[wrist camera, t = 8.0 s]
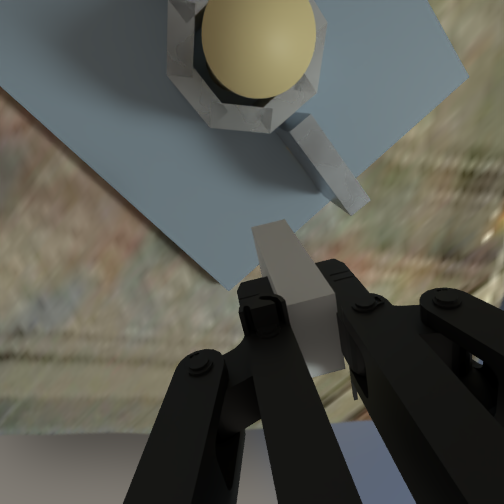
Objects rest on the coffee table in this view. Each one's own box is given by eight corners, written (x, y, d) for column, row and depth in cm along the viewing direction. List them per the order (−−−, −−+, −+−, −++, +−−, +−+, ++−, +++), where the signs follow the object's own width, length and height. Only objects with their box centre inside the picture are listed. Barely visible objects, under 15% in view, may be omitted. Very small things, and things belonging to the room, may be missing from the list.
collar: (104, -1, 20) (78, -32, 16) (207, -105, 19) (211, -169, 15) (289, 223, 27) (310, 248, 22) (374, 154, 26) (414, 165, 21)
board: (244, -300, 18) (299, -734, 9) (457, 77, 26) (606, 64, 17) (-39, 42, 21) (-221, -4, 12) (227, 284, 29) (243, 369, 20)
